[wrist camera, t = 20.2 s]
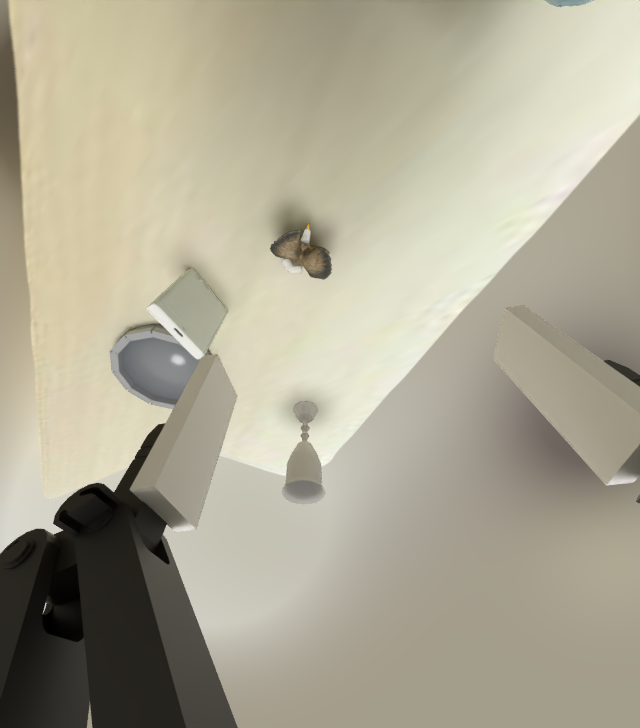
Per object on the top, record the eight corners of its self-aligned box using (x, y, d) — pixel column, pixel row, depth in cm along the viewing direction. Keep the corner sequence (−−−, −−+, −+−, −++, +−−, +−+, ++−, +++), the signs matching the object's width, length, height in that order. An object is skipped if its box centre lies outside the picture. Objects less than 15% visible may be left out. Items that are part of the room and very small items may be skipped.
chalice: (325, 418, 60) (330, 500, 46) (295, 424, 62) (291, 507, 47) (316, 394, 56) (317, 476, 42) (284, 401, 57) (274, 484, 43)
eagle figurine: (334, 222, 38) (339, 237, 31) (326, 274, 42) (329, 299, 35) (277, 213, 37) (268, 227, 30) (274, 267, 41) (267, 291, 34)
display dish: (97, 333, 47) (88, 341, 45) (193, 317, 46) (188, 324, 44) (150, 405, 57) (145, 413, 55) (231, 393, 56) (228, 401, 54)
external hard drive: (193, 266, 41) (154, 302, 31) (229, 311, 45) (206, 355, 35) (184, 271, 41) (144, 308, 31) (221, 316, 46) (196, 361, 36)
